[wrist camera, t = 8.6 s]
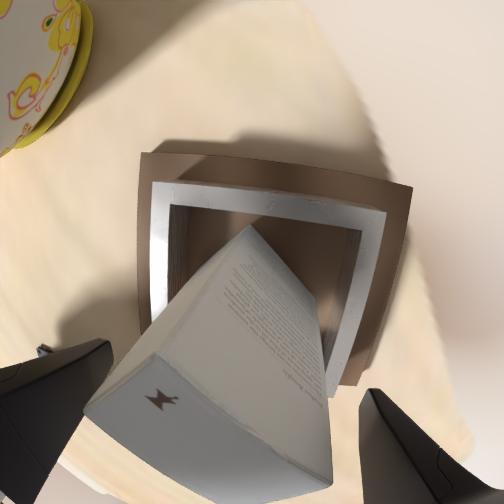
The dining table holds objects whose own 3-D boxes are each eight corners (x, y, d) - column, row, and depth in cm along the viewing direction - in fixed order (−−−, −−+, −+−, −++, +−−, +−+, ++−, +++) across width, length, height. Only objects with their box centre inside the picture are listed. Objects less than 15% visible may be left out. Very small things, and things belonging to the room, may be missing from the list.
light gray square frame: (172, 341, 19) (155, 366, 16) (176, 179, 16) (152, 181, 13) (329, 368, 18) (333, 397, 15) (369, 205, 15) (386, 212, 12)
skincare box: (198, 267, 17) (73, 408, 6) (250, 221, 16) (153, 346, 5) (264, 337, 18) (227, 512, 6) (318, 299, 17) (341, 486, 5)
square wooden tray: (149, 341, 21) (142, 349, 20) (150, 153, 17) (141, 152, 16) (354, 375, 19) (356, 386, 18) (405, 186, 15) (413, 187, 14)
